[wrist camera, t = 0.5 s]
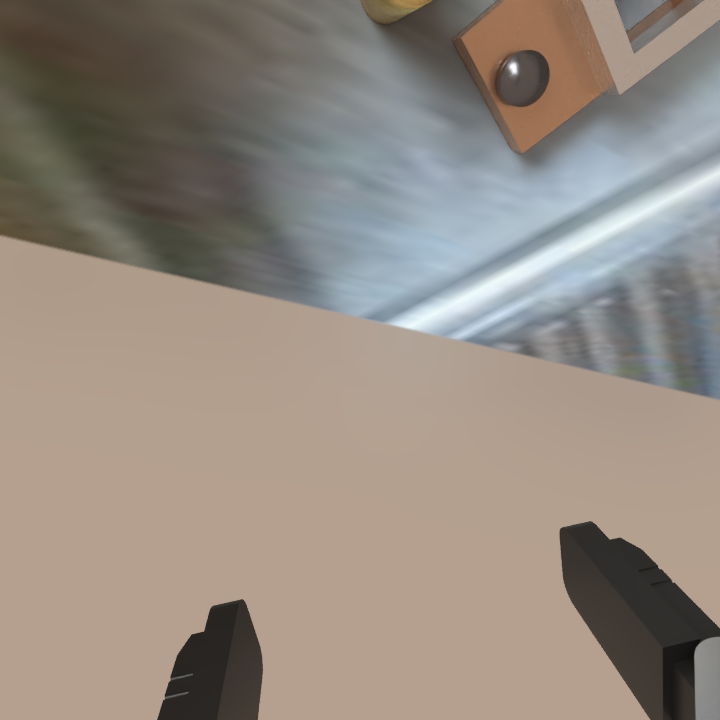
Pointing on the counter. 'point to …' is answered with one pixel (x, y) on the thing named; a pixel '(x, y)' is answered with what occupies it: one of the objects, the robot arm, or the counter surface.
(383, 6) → the pin
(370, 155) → the counter surface
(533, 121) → the door latch
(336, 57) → the counter surface
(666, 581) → the robot arm
